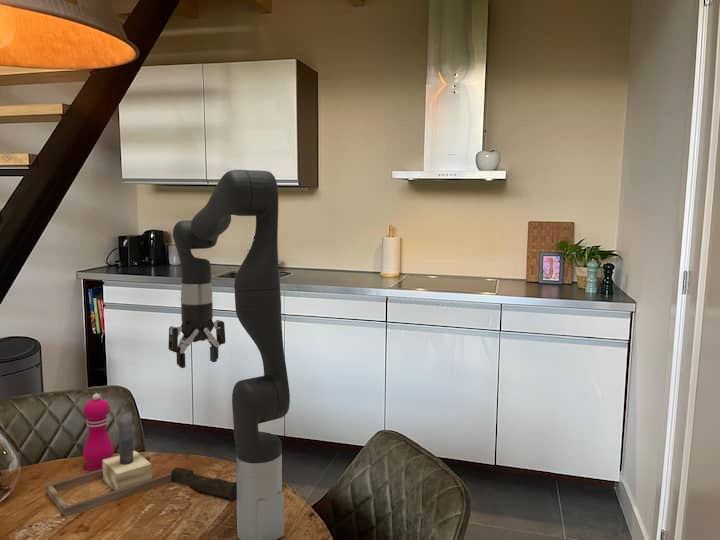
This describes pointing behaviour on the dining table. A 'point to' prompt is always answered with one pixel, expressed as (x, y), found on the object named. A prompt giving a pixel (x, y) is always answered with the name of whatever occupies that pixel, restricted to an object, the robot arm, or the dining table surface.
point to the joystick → (126, 459)
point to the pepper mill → (97, 433)
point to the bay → (100, 499)
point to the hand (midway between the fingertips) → (198, 364)
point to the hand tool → (205, 483)
